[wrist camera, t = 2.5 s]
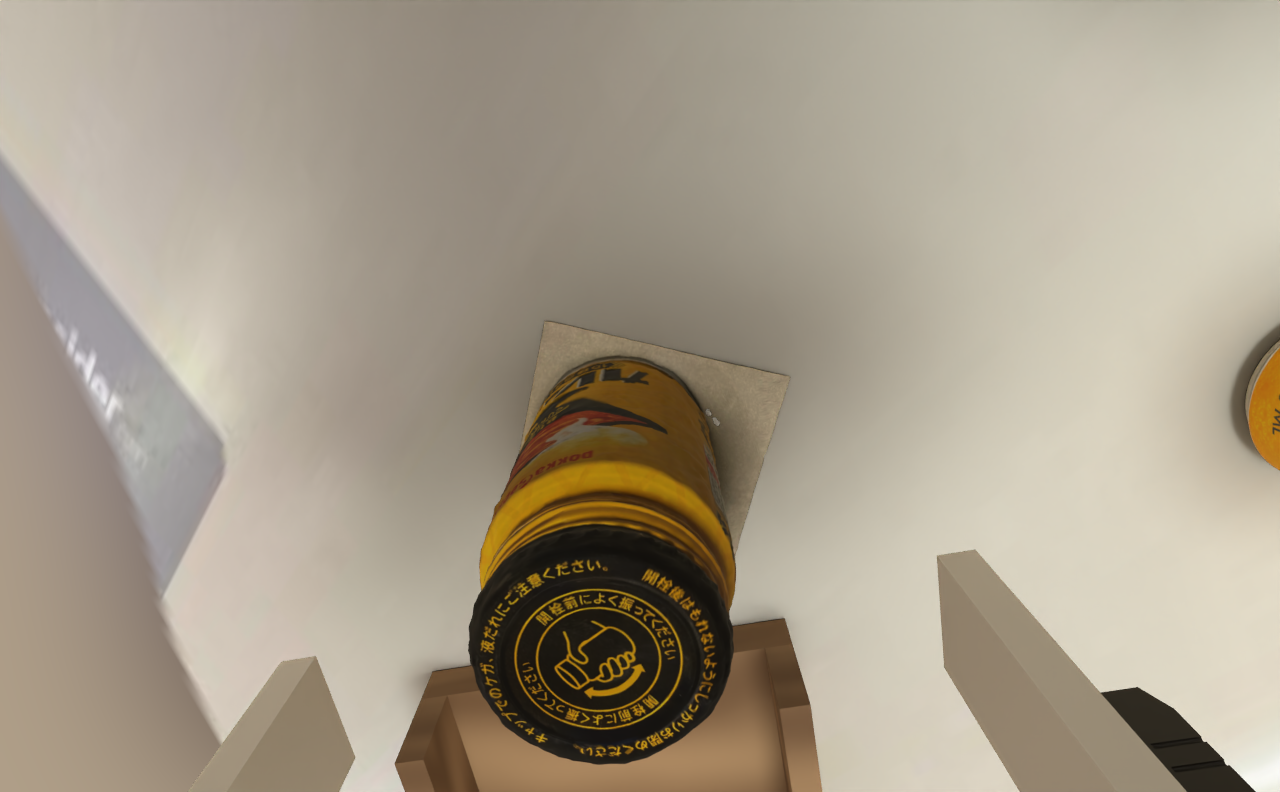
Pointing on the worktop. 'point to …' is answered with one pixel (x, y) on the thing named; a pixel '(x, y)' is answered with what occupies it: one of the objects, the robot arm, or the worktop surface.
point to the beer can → (1265, 406)
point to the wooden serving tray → (648, 788)
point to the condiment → (619, 545)
